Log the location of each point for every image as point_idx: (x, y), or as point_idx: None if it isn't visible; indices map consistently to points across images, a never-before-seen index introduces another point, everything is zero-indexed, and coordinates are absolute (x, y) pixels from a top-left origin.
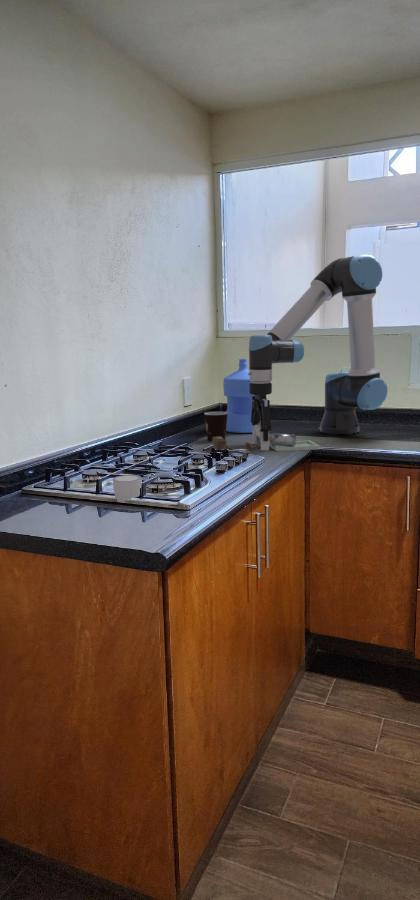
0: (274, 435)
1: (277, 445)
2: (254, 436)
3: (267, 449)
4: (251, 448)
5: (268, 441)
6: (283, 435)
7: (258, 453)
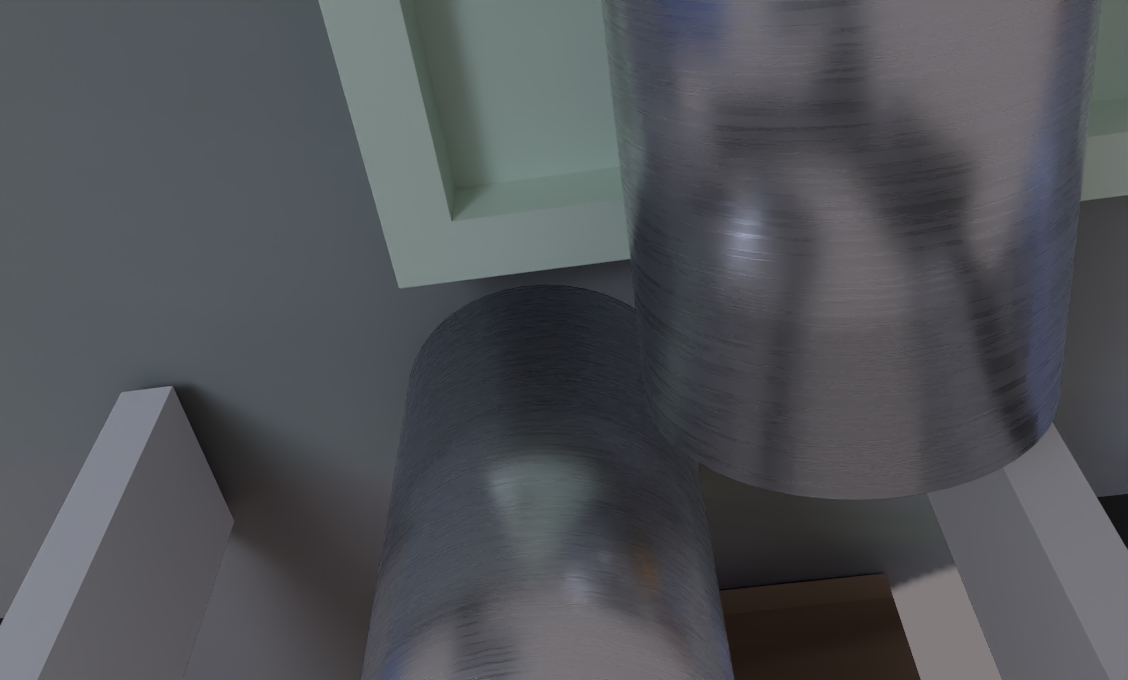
0: (1039, 398)
1: (507, 28)
2: (171, 650)
3: None
4: (900, 626)
5: (1058, 454)
6: (1047, 35)
7: (1095, 484)
